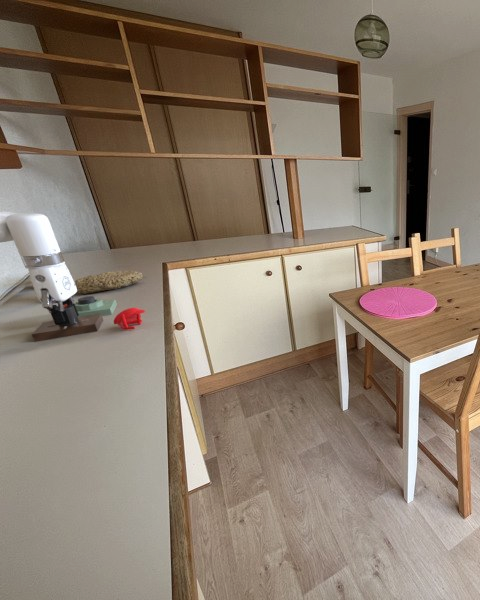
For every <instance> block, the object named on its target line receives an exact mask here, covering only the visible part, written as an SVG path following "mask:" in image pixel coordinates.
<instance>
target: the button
mask: <svg viewBox="0 0 480 600" xmlns="http://www.w3.org/2000/svg"><path fill="white" fill-rule="evenodd" d="M77 302H79V305H84V304H90V303H94V302H96V301H95V296H93V295H90V296H88V295H87V296H83V297H80V298H78V299H77Z"/></svg>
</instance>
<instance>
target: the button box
mask: <svg viewBox="0 0 480 600" xmlns="http://www.w3.org/2000/svg"><path fill="white" fill-rule="evenodd" d="M94 298H95V297H94ZM95 301H96V302H94V303H90V304H84V305H79V302H78V301H76V302H75V303H74V304H75V306H76V309H77V311H78V314H79V316H78V317H81V316H88V315H94V314H101V315H102V317H104V316H105V317H106V316H110V315H113V313H114V312H115V309H116V308H117V305H118V303H117V301H116V298H115V299H106V300H103V299H102V298H95Z"/></svg>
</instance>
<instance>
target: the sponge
mask: <svg viewBox="0 0 480 600" xmlns="http://www.w3.org/2000/svg"><path fill="white" fill-rule="evenodd" d="M143 279H144V276H143V273H142V272H139V271H135V270H122V271H121V270H120V271H119V270H117V271H106V272H102V273H99V274H95V275H92V274H91V275H87V276H85V277H81V278H78V279H75V280H74V283H75V285H76V288H77V292H76V293H78V294H80V295H85V294H93V293H98V292H103V291H110V290H117V289H121V288H122V289H123V288H125V287H128V286H131V285H133V284H136V283H139V282H140V281H141V280H143Z"/></svg>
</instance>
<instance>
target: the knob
mask: <svg viewBox="0 0 480 600" xmlns="http://www.w3.org/2000/svg"><path fill="white" fill-rule="evenodd" d="M63 307H64V310H66V311H67V313H68V316H69V318H70V321H71V323H69V324H62V325H58V326H68V325H72V324H75V323H77V322H79V319H78V317H77V314H76V312H75V309H74V306H73V305H67V304H64V305H63Z"/></svg>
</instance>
